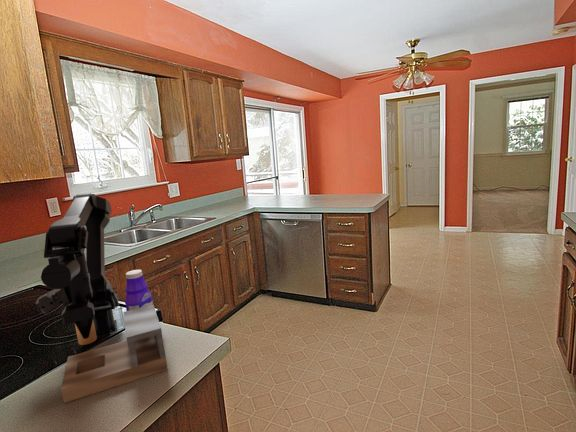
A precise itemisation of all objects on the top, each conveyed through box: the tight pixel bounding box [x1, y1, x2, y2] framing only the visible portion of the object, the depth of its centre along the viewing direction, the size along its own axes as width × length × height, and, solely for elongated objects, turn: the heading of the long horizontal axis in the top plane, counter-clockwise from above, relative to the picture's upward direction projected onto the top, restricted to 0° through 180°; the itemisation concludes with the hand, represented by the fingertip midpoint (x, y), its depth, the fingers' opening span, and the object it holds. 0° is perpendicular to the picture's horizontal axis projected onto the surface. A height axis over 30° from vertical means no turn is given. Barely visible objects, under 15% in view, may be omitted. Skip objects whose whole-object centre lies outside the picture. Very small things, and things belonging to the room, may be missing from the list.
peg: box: [74, 321, 98, 346], centre depth 89 cm, size 4×4×8 cm
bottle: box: [124, 269, 154, 311], centre depth 98 cm, size 7×6×17 cm
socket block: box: [60, 304, 169, 404], centre depth 81 cm, size 15×20×10 cm
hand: (86, 334), depth 89 cm, fingers closed on peg, 4 cm apart
